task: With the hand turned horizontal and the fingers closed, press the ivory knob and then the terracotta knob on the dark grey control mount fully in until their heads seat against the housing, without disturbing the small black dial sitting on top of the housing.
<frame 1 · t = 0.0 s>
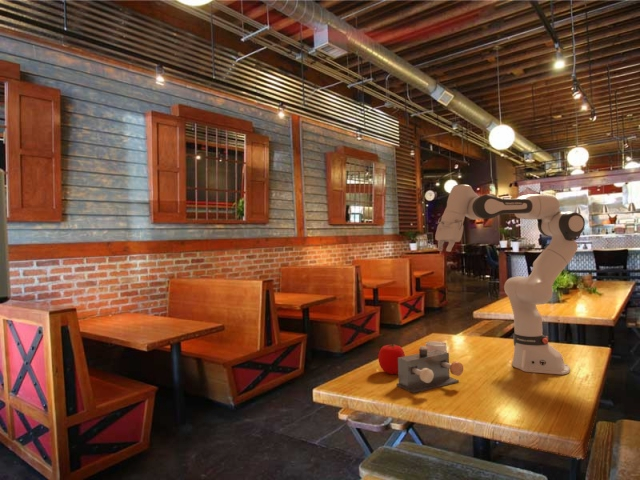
hand: (443, 251, 187), 52 cm above the table, tool tilted 20°, fingers open, 8 cm apart
cup: (436, 371, 189), on the table
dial: (423, 355, 174), point 11 cm above the table, touching mount
knob 2: (449, 366, 172), point 7 cm above the table, slide at 0.0 cm
knob 1: (420, 372, 165), point 7 cm above the table, slide at 0.0 cm
mount: (433, 386, 170), on the table
tomato: (392, 373, 188), on the table
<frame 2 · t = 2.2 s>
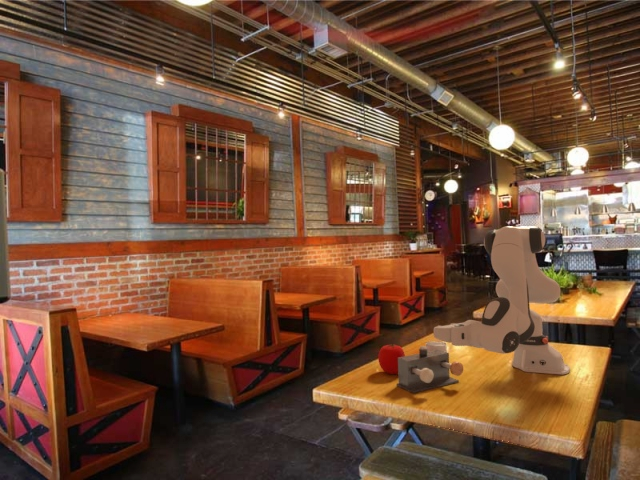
hand: (444, 326, 161), 25 cm above the table, tool horizontal, fingers open, 5 cm apart
nothing on the table moved.
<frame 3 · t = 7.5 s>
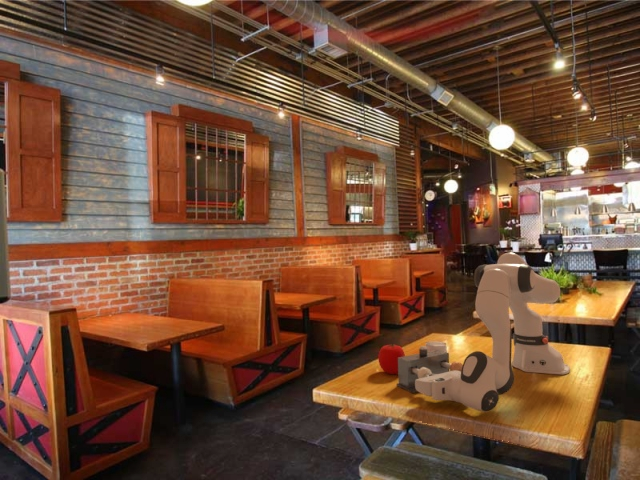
hand: (426, 375, 162), 7 cm above the table, tool horizontal, fingers closed, pressing on knob 1
knob 1: (418, 372, 166), point 7 cm above the table, slide at 1.1 cm, touching gripper
everything else where it was.
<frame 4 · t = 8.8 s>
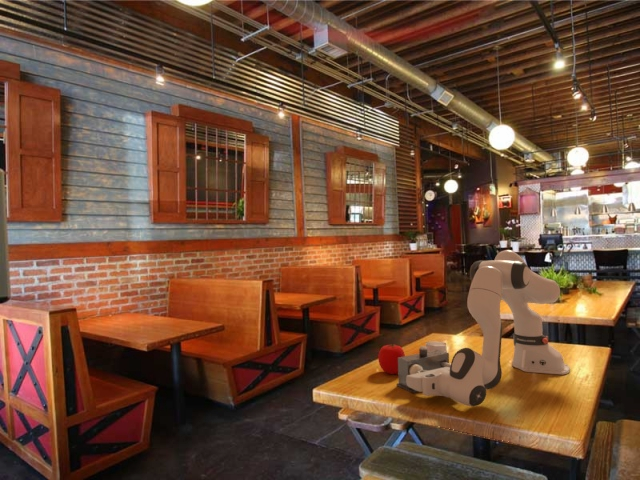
hand: (418, 372, 166), 7 cm above the table, tool horizontal, fingers closed, pressing on knob 1
knob 1: (410, 368, 170), point 7 cm above the table, slide at 5.9 cm, touching gripper
everything else where it was.
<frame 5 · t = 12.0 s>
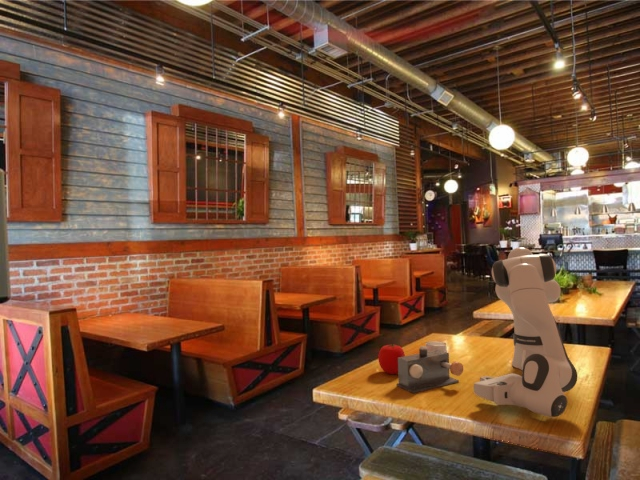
hand: (482, 378, 157), 7 cm above the table, tool horizontal, fingers closed
knob 1: (410, 368, 170), point 7 cm above the table, slide at 6.0 cm
everything else where it was.
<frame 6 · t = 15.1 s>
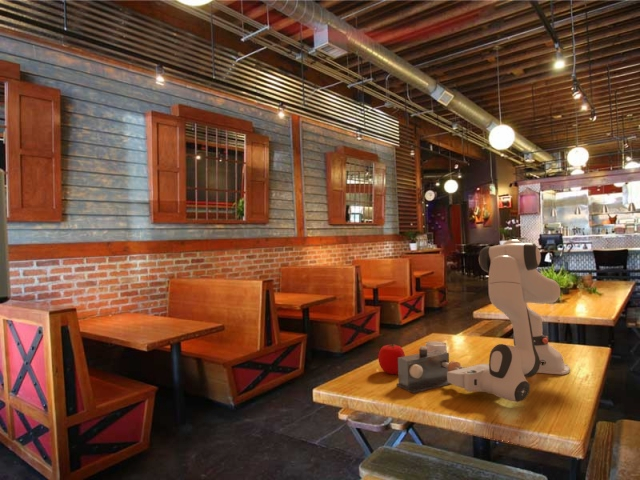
hand: (456, 368, 169), 7 cm above the table, tool horizontal, fingers closed, pressing on knob 2
knob 2: (447, 365, 173), point 7 cm above the table, slide at 1.2 cm, touching gripper
everything else where it was.
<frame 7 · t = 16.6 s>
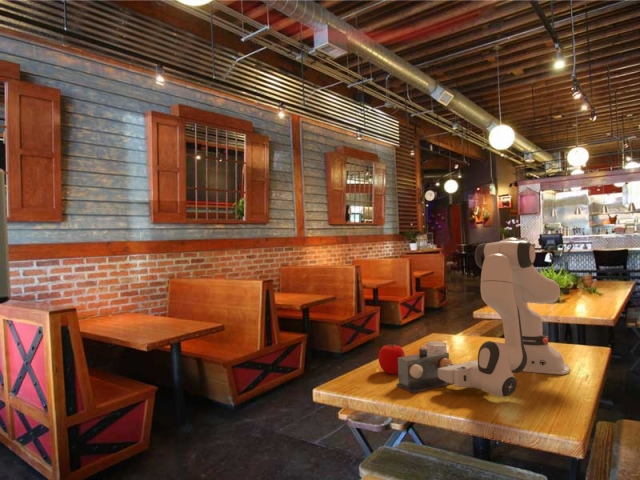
hand: (447, 365, 173), 7 cm above the table, tool horizontal, fingers closed, pressing on knob 2
knob 2: (439, 362, 177), point 7 cm above the table, slide at 6.0 cm, touching gripper
everything else where it was.
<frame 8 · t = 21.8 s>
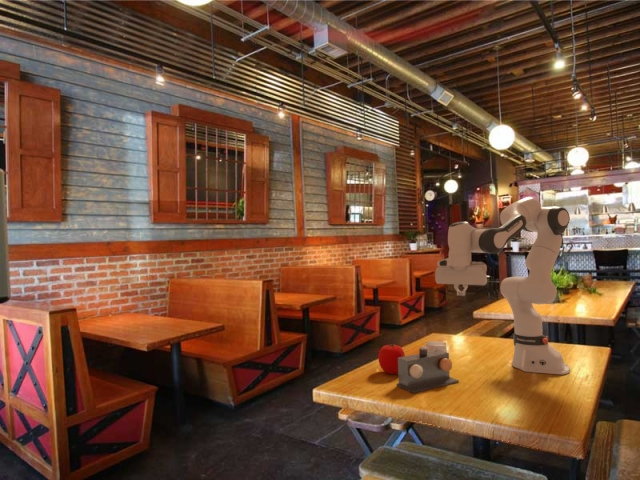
hand: (461, 295, 177), 34 cm above the table, tool pointing down, fingers closed
knob 2: (439, 362, 177), point 7 cm above the table, slide at 6.0 cm
everything else where it was.
at the end: knob 1 slide at 6.0 cm; knob 2 slide at 6.0 cm; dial moved 0.0 cm from its start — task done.
